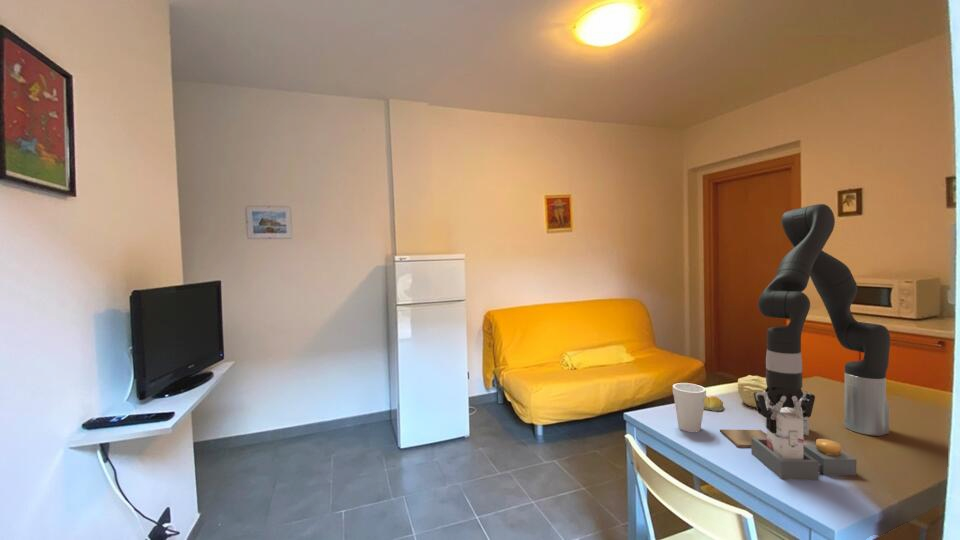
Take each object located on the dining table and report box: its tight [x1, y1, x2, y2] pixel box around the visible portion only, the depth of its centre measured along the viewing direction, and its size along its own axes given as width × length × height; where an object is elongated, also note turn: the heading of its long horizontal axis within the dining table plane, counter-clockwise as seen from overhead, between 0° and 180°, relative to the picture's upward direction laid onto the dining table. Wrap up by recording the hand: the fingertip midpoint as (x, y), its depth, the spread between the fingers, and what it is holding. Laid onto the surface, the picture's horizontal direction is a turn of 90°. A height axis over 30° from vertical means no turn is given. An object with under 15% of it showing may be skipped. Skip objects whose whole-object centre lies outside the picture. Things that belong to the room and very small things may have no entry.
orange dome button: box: [815, 438, 842, 455], centre depth 104 cm, size 5×5×6 cm
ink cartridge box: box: [766, 404, 804, 460], centre depth 105 cm, size 9×5×15 cm, turn 169°
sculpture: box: [737, 374, 767, 409], centre depth 146 cm, size 11×12×11 cm
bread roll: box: [704, 395, 724, 412], centre depth 146 cm, size 8×9×4 cm
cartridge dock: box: [750, 438, 857, 481], centre depth 105 cm, size 19×13×4 cm, turn 85°
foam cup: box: [672, 382, 707, 433], centre depth 129 cm, size 10×9×13 cm
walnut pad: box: [719, 429, 767, 449], centre depth 120 cm, size 12×10×1 cm
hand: (784, 431), depth 105 cm, fingers closed on ink cartridge box, 5 cm apart
